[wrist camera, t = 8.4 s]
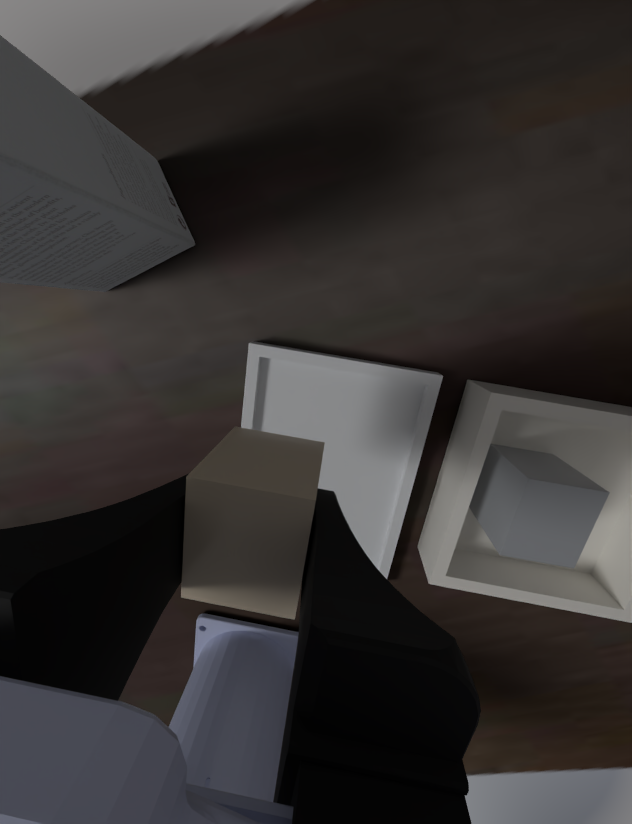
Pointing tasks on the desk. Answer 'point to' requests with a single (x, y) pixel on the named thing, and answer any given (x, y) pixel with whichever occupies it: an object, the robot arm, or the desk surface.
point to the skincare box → (75, 189)
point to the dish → (578, 447)
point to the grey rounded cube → (535, 505)
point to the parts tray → (348, 430)
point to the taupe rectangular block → (250, 521)
